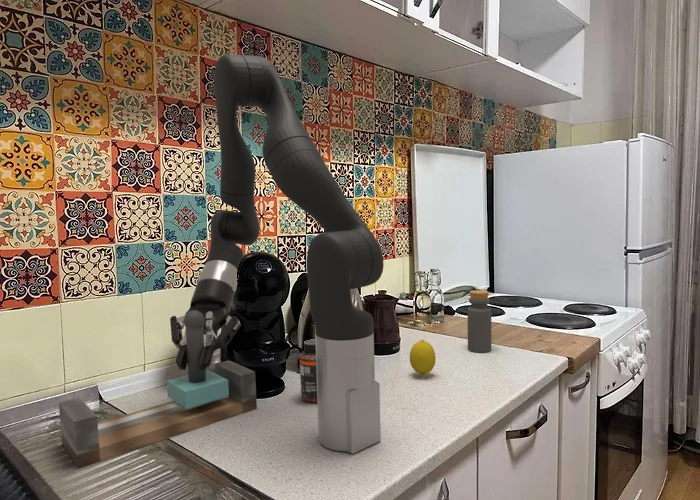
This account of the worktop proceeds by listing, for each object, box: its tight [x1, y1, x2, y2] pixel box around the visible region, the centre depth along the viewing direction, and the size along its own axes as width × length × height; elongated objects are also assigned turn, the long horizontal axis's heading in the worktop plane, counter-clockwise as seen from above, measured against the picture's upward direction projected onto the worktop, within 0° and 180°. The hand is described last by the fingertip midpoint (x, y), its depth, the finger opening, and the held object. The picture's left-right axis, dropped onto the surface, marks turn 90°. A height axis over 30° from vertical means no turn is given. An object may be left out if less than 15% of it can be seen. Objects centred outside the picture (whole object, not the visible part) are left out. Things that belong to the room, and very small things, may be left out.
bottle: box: [467, 289, 492, 354], centre depth 124 cm, size 6×6×15 cm
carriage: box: [166, 310, 229, 409], centre depth 88 cm, size 8×8×16 cm
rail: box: [58, 360, 258, 469], centre depth 85 cm, size 30×10×7 cm, turn 132°
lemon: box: [409, 339, 437, 377], centre depth 106 cm, size 6×6×8 cm
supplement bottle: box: [299, 339, 317, 403], centre depth 95 cm, size 6×6×11 cm
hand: (191, 367), depth 86 cm, fingers open, 3 cm apart
